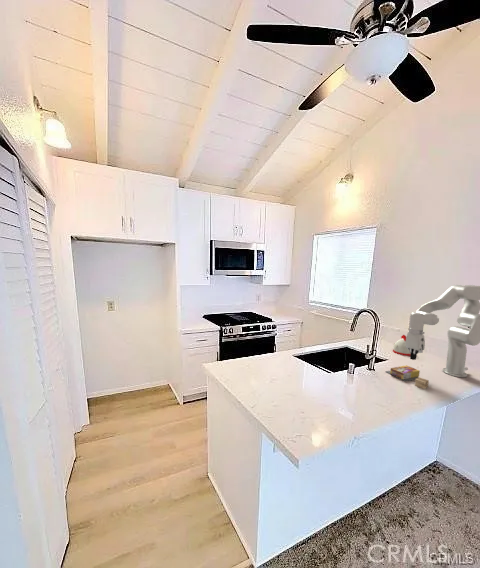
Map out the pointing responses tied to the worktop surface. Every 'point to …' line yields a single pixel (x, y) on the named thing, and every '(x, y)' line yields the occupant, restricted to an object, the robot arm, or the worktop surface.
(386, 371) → the mat
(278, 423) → the worktop surface
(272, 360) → the worktop surface
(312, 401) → the worktop surface
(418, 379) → the oak block
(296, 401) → the worktop surface
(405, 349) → the kitchen timer
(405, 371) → the candy box
